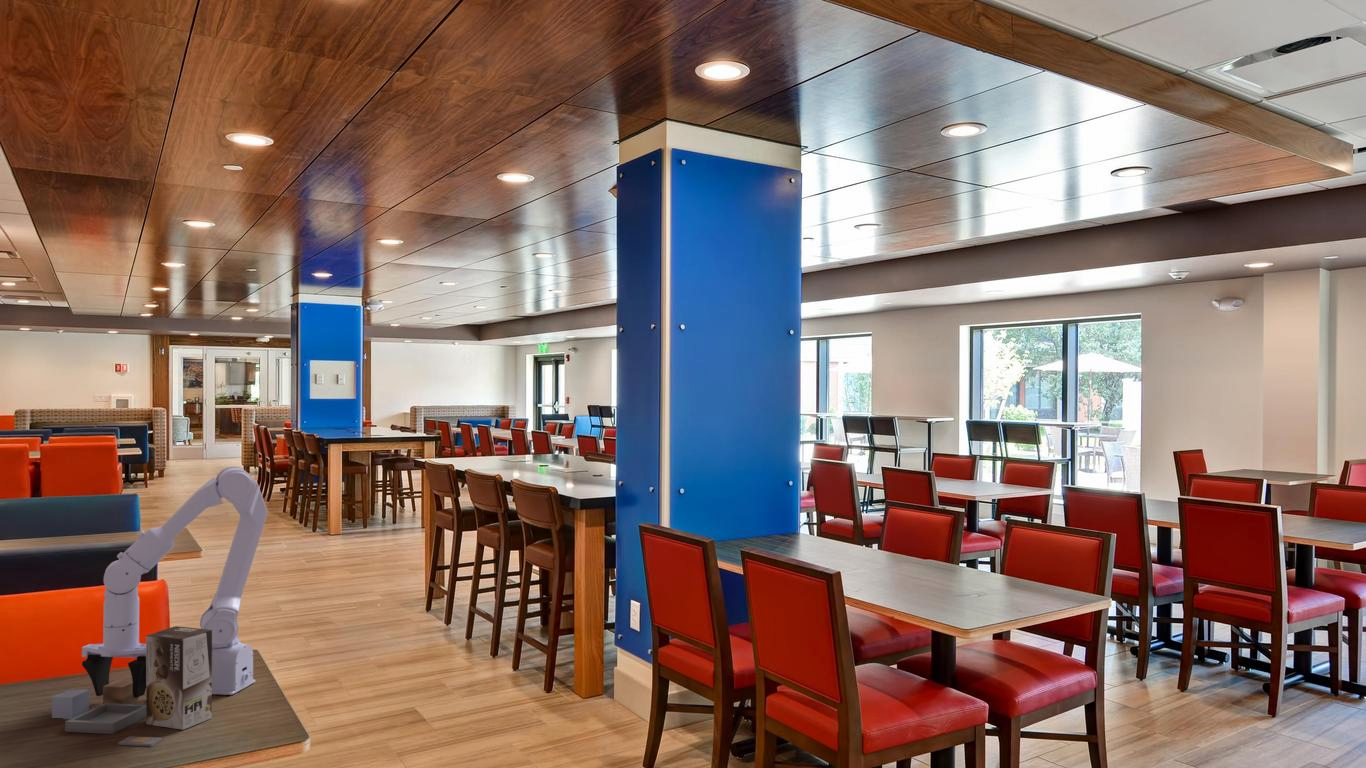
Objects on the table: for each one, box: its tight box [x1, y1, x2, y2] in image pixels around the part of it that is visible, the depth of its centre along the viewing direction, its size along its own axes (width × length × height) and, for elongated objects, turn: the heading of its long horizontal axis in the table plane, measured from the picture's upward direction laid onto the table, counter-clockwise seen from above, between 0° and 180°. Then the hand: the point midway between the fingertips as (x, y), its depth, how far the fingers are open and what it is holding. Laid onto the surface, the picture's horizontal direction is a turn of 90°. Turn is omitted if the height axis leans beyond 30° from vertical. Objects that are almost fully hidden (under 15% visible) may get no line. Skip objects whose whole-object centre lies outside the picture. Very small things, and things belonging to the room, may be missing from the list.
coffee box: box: [145, 625, 213, 731], centre depth 154 cm, size 9×6×16 cm
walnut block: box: [102, 679, 139, 704], centre depth 162 cm, size 4×4×4 cm
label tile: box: [117, 735, 164, 747], centre depth 144 cm, size 6×3×1 cm, turn 84°
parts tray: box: [64, 703, 146, 735], centre depth 153 cm, size 9×9×2 cm
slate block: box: [51, 688, 91, 720], centre depth 157 cm, size 4×4×4 cm
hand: (120, 695), depth 162 cm, fingers open, 7 cm apart
